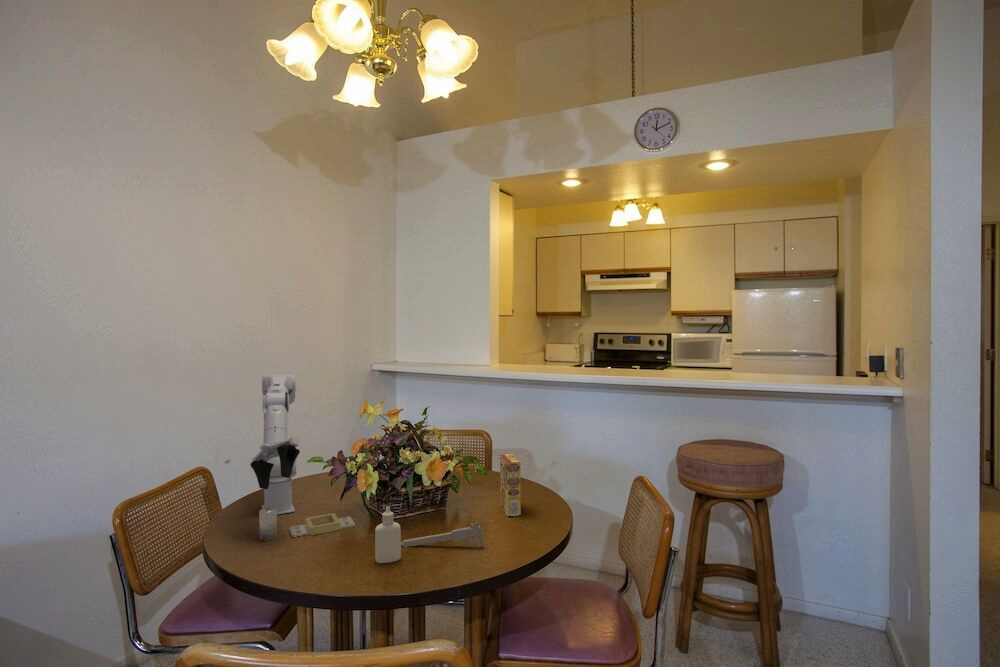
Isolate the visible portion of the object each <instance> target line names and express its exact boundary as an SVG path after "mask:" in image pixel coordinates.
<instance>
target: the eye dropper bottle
mask: <svg viewBox="0 0 1000 667" xmlns="http://www.w3.org/2000/svg"><path fill="white" fill-rule="evenodd" d="M374 532H375V533H374V534H375V535H374V550H375V551H374V554H375V556H374V557H375V562H376V563H377V564H389V563H394V562H397V561H399V560H401V557H402V546H401V543H402V541H401V540H402V529H401V525H400V524H399V523H398V522H396V521H394V512H393V511H391V509H390V506H386V507H385V511H384V512H382V522H381V523H380V524H378V525H376V527H375V529H374Z"/></svg>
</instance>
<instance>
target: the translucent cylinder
mask: <svg viewBox="0 0 1000 667" xmlns="http://www.w3.org/2000/svg"><path fill="white" fill-rule="evenodd" d="M258 514H259V517H258V519H259V520H258V521H259V526H258V527H259V540H260V539H261V540H270V541H272V540H271V539H273V540H275V539H277V538H278V515H277V508H275V507H267V508H263V509H262V508H261V509H259V511H258ZM276 537H277V538H276ZM274 538H275V539H274ZM261 540H260V541H261Z"/></svg>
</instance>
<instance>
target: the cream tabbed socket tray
mask: <svg viewBox="0 0 1000 667" xmlns="http://www.w3.org/2000/svg"><path fill="white" fill-rule="evenodd" d="M304 523H305V524H300V525H294V526H290V527H289V532H290V535H291V537H294V538H298V537H297V536H300V537H303V535H305V536H309V537H310V536H311V537H312V536H315V535H316V534H317V535H321V533H322V534H327V533H332V532H338V531H341V530H342V529H349V528H352V527H353V526H354V527H356V522H354V520H353V518H352V517H351V516H344V517H340V518H338V516H337V514H336V513H334V512H332V513H327V514H322V515H317V516H316V515H315V516H310V517H305V521H304ZM318 524H319V525H318Z"/></svg>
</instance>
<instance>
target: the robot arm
mask: <svg viewBox="0 0 1000 667" xmlns="http://www.w3.org/2000/svg"><path fill="white" fill-rule="evenodd" d="M296 379H297V378H296V374H295V373H286V374H285V373H284V374H283V373H282V374H281V373H279V374H263V375H262V376H261V393H262V412H263V444H261V445H260V446H259V448H260V451H259V452H258V453H257V454H256V455H255V456H254V457H252V458H251V459H252V460H251V462H250V467H251V469H253V470H252V471H253V472H254V473H255V476H256V479H257V480H256V481H257V483H258V486H259V487H258V488H259V489H262V490H263V492H264V498H263V499H264V501H263V502H264V504H261V509H263V508H267V507H275V508H277V516H278V515H285V514H289V513H290V514H291V513H295V512H296V511H295V510H296V509H295V508H294V505H293V501H292V500H293V497H292V496H293V494H292V490H293V489H292V488H293V484H292V483H293V482H292V480H293V477H295V476H296V475H297V458H298V456H299V455H300V453H301V452H300V451H301V450H300V449H298V448H296V447H298V446H299V445H300V438H298V437H295V436H291V437H288V413H289V412H290V405H292V404H293V403H294V402H295V399H296V392H297V390H296V388H297V385H296V383H297V382H296V381H297V380H296Z"/></svg>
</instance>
